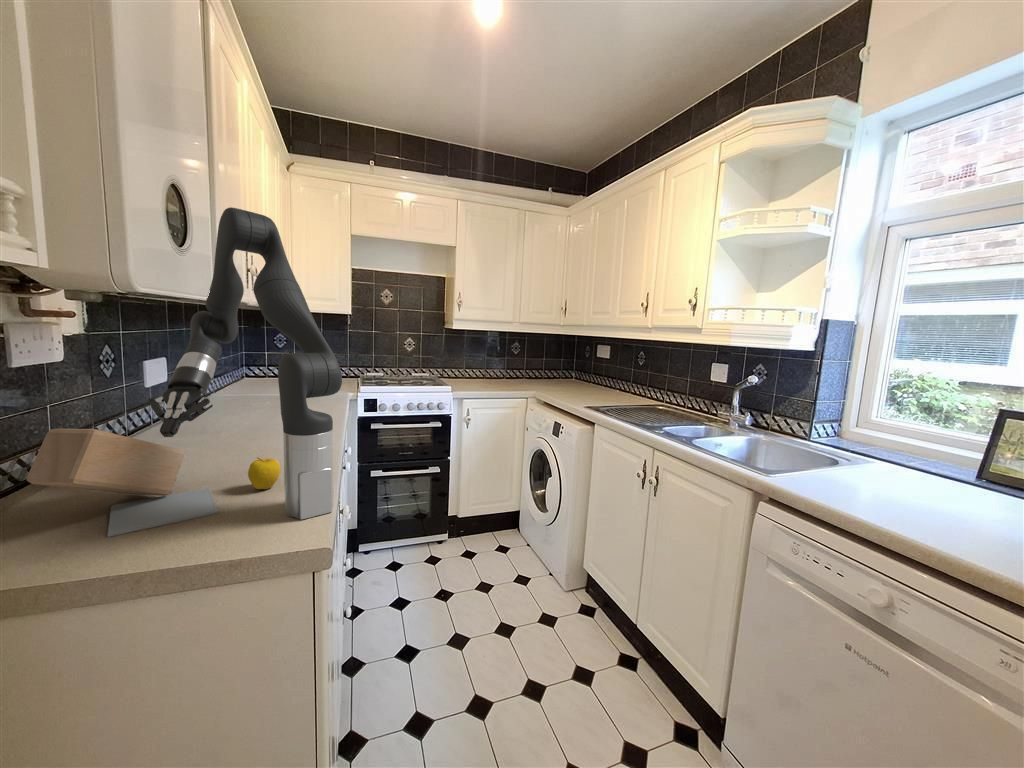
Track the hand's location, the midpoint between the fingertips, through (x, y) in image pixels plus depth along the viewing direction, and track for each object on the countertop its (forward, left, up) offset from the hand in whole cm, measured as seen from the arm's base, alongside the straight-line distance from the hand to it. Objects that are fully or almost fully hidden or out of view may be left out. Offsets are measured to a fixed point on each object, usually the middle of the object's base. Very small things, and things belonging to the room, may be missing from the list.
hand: (166, 435), depth 91 cm
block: (0, +1, -8) cm, 8 cm away
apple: (-11, -17, -13) cm, 24 cm away
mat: (-12, +1, -13) cm, 18 cm away
